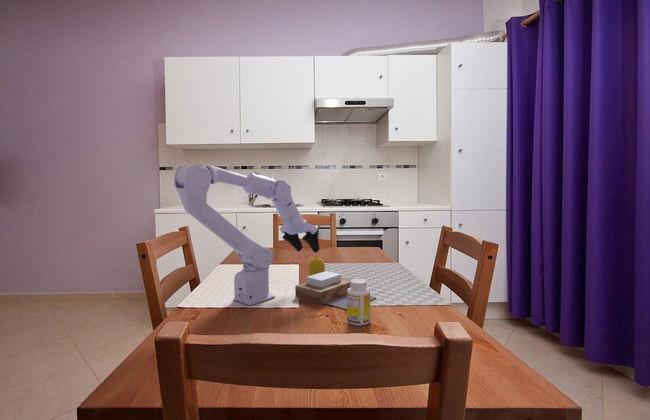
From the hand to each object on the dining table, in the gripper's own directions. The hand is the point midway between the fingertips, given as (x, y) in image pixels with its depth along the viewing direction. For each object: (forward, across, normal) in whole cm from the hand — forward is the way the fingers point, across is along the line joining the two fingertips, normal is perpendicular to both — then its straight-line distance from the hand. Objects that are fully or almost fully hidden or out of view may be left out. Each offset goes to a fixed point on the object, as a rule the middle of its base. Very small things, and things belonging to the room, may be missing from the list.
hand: (308, 250), depth 120 cm
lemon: (+14, +4, 0) cm, 14 cm away
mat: (+10, -18, +9) cm, 23 cm away
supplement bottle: (+6, -29, +19) cm, 35 cm away
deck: (+10, -9, +8) cm, 15 cm away
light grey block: (+6, -8, +7) cm, 12 cm away
